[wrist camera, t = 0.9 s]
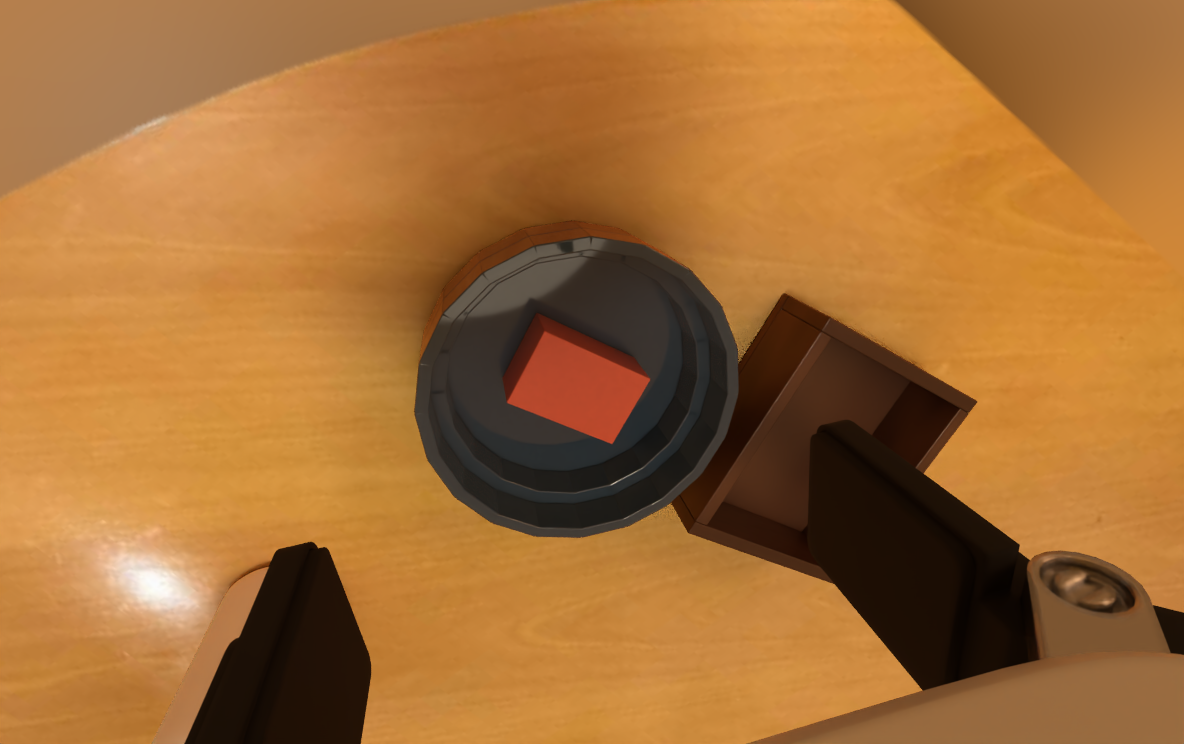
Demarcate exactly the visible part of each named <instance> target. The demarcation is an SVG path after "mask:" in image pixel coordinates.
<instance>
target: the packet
mask: <svg viewBox="0 0 1184 744" xmlns="http://www.w3.org/2000/svg"><path fill="white" fill-rule="evenodd" d="M649 381H650V378H649V376H648V375H647V374H646V373H645V371H644V370H643V369H642V367H641V366H640V365H639V363H638V362H637V361H636V359H635V358H634V357H632V356H630V355H627V354H625V353H623V352H621V351H619V350H617V349H614V348H612V347H610V346H608V345H606V344H604V343H601V342H599V341H597V340H595V339H593V338H591V337H589V336H586V335H584V334H582V333H580V332H578V331H576V330H573V329H571V328H569V327H567V326H565V325H563V324H560V323H558V322H556V321H554V320H552V319H550V318H547V317H545V316H543V315H541V314H539V313H536V314H535V316H534V318H533V320H532V322H531V324H530V326H529V328H528V330H527V332H526V334H525V336H524V338H523V340H522V341H521V343H520V345H519V347H518V349H517V351H516V353H515V355H514V357H513V359H512V361H511V363H510V365H509V367H508V369H507V370H506V372H505V374H504V376H503V384H504V390H505V395H506V401H507V403H509V404H511V405H514V406H516V407H519V408H521V409H524V410H526V411H529V412H532V413H534V414H537V415H539V416H542V417H544V418H547V419H549V420H552V421H554V422H557V423H559V424H562V425H565V426H567V427H570V428H572V429H575V430H577V431H580V432H582V433H585V434H587V435H590V436H593V437H595V438H598V439H600V440H603V441H605V442H608V443H610V444H613V442H614V440H615V439H616V437H617V435H618V434H619V432H620V430H621V429H622V427H623V425H624V423H625V422H626V420H627V418H628V417H629V415H630V413H631V412H632V410H633V408H634V406H635V405H636V403H637V401H638V400H639V398H640V396H641V395H642V393H643V391H644V390H645V388H646V386H647V384H648V383H649Z"/></svg>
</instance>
